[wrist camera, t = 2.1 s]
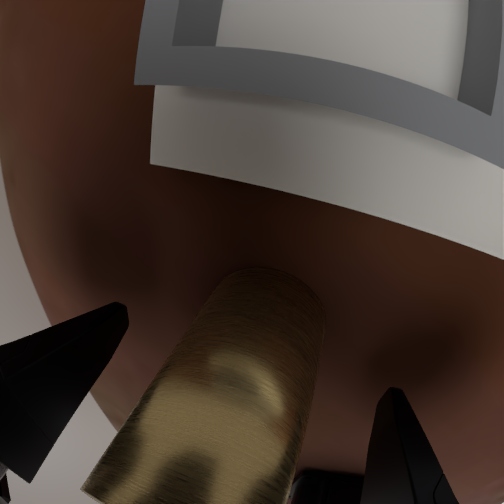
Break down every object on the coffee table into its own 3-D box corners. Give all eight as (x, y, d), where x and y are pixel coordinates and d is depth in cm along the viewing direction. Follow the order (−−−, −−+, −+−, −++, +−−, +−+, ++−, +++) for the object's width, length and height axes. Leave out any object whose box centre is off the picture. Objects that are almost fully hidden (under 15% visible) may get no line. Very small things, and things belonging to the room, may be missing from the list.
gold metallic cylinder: (307, 370, 12) (250, 565, 5) (208, 340, 12) (108, 509, 5) (341, 287, 9) (287, 567, 3) (215, 252, 10) (50, 465, 3)
